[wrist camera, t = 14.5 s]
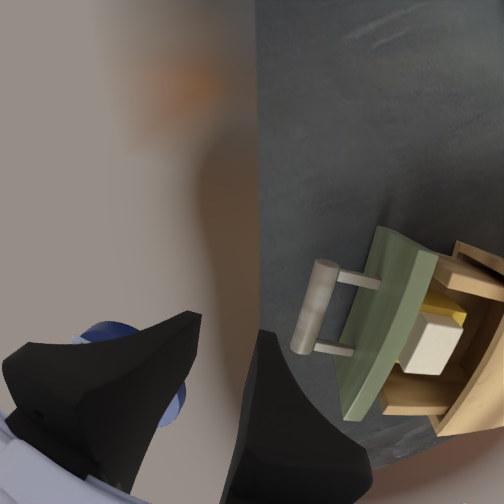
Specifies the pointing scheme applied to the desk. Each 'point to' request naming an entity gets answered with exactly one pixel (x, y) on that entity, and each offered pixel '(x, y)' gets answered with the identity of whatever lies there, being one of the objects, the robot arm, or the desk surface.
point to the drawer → (399, 325)
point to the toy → (432, 335)
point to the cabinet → (478, 370)
